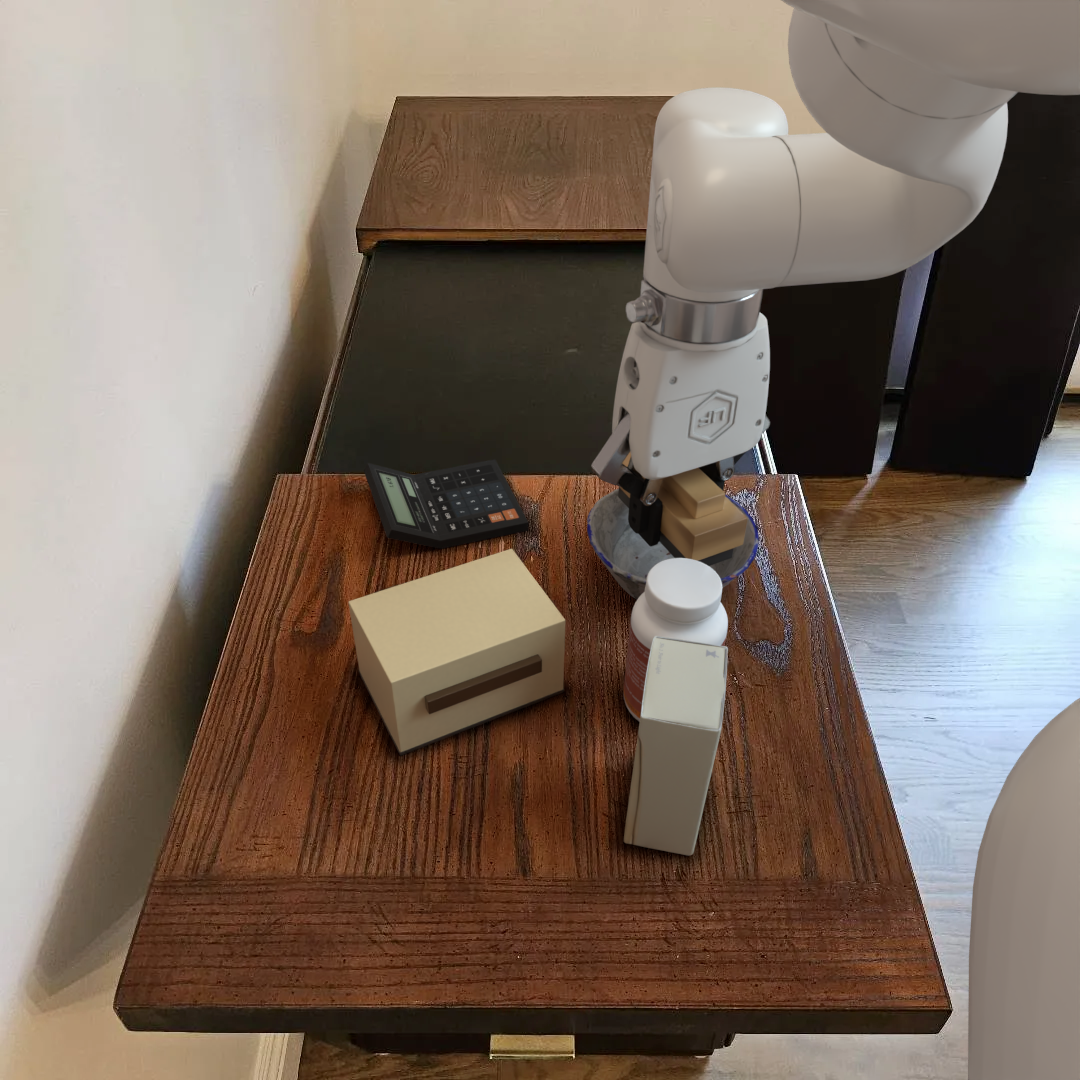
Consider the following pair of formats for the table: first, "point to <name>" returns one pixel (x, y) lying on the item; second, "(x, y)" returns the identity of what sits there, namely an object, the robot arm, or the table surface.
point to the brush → (696, 518)
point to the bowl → (637, 558)
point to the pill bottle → (672, 617)
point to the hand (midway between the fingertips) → (673, 522)
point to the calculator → (445, 504)
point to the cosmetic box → (676, 743)
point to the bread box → (458, 649)
